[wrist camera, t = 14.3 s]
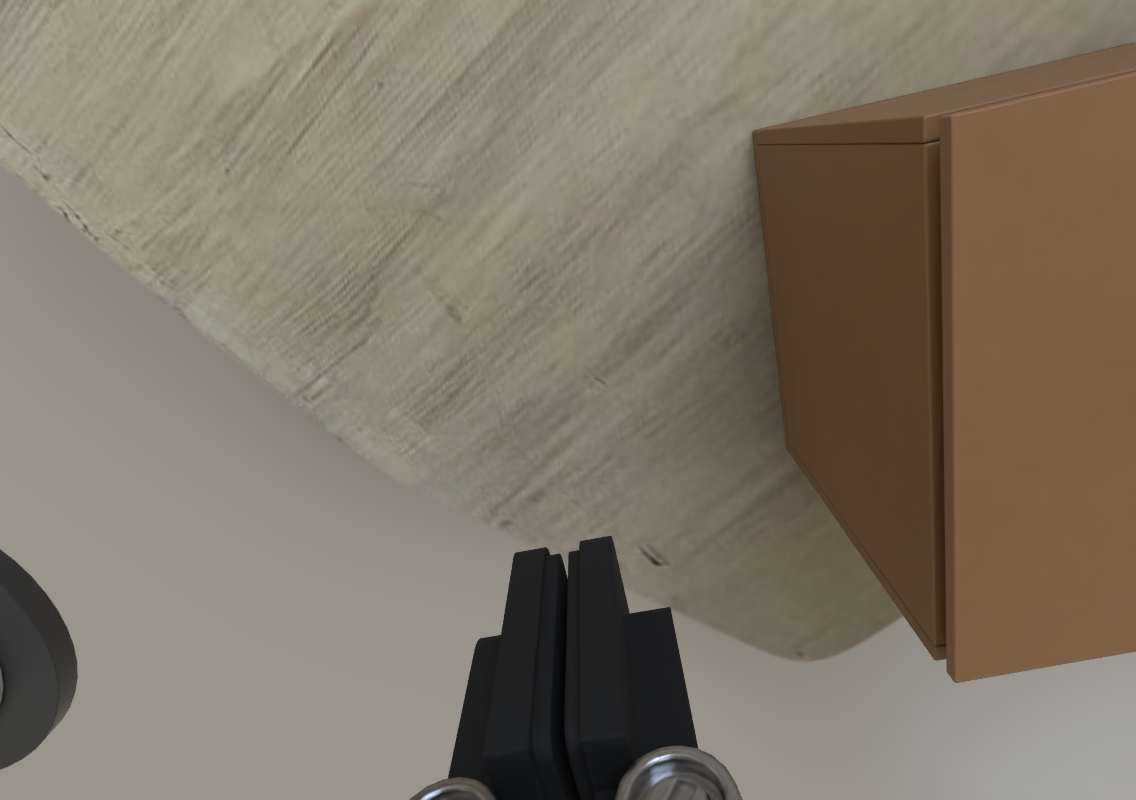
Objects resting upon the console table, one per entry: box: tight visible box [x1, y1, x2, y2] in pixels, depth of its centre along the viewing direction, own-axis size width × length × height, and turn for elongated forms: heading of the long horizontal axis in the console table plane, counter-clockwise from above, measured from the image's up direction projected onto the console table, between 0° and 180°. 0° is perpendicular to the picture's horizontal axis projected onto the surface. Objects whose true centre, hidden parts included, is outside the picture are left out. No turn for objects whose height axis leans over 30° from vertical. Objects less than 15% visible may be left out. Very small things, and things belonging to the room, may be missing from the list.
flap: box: [940, 72, 1136, 683], centre depth 14 cm, size 6×13×1 cm, turn 12°
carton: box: [753, 43, 1136, 660], centre depth 20 cm, size 13×13×12 cm
